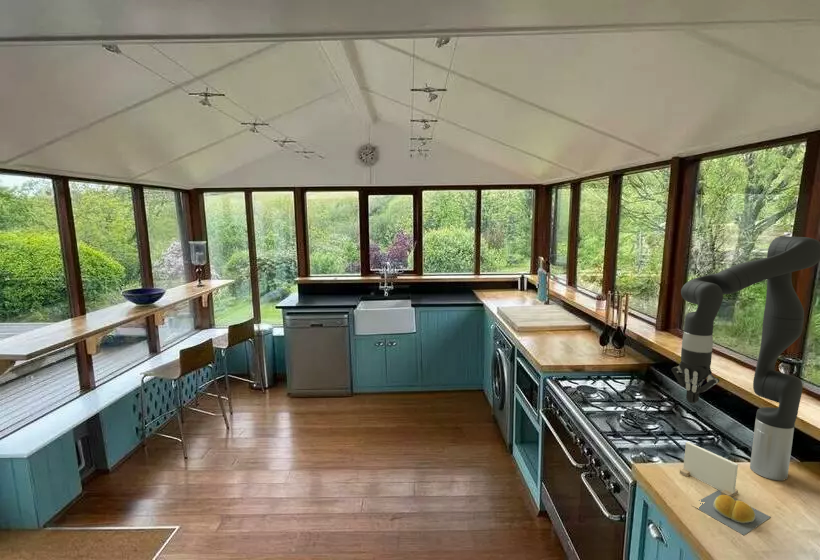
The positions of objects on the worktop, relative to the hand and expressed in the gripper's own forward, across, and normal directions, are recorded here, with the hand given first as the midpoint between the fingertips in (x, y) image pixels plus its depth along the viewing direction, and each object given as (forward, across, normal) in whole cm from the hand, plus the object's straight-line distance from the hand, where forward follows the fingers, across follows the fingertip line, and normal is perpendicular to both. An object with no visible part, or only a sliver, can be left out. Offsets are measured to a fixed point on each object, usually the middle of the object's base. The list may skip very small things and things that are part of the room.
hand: (691, 402), depth 128 cm
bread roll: (+26, -15, +5) cm, 30 cm away
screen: (+26, -4, -4) cm, 26 cm away
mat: (+26, -14, +4) cm, 30 cm away
